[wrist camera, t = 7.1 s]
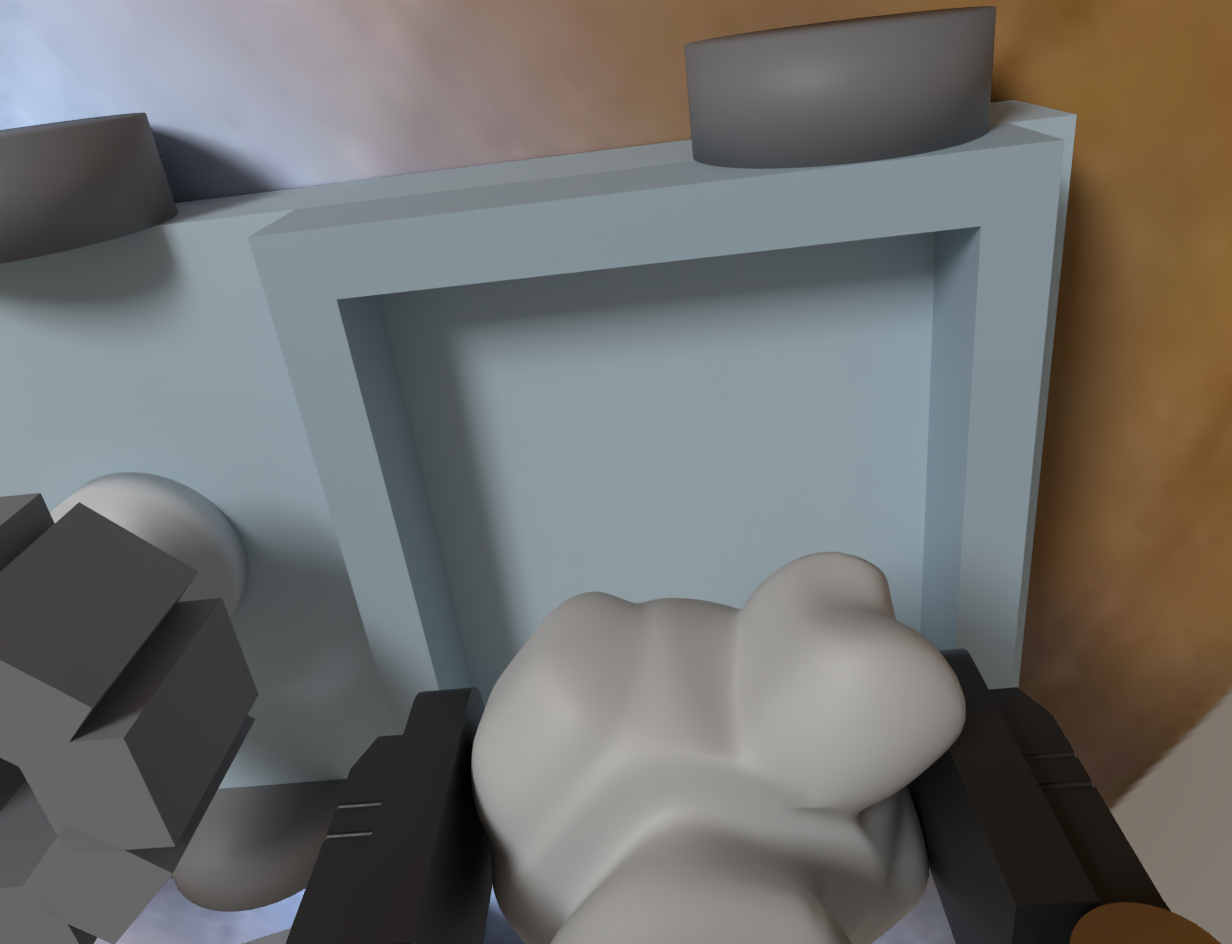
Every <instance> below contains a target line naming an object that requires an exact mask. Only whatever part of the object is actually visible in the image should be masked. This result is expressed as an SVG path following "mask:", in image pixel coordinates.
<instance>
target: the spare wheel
mask: <svg viewBox="0 0 1232 944" xmlns="http://www.w3.org/2000/svg"><path fill="white" fill-rule="evenodd" d="M197 573H198V571H197V570H195V569H193V568H191V567H190V566H188V565H186V564H185V563H183V562H181V561H179V560H178V559H176V558H174V557H173V556H171V555H169V554H167V553H166V552H164V551H162V550H161V549H159V548H157V547H155V546H154V545H152V544H150V543H149V542H147V541H145V540H143V539H142V538H140V537H138V536H137V535H135V534H133V533H131V532H130V531H128V530H126V529H125V528H123V527H121V526H119V525H118V524H116V523H114V522H112V521H111V520H109V519H107V518H106V517H104V516H102V515H100V514H99V513H97V512H95V511H94V510H92V509H90V508H88V507H87V506H85V505H83V504H82V503H80V502H79V503H78V504H76V505H75V506H74V507H73V508H72V509H71V510H70V511H68V512H67V513H66V514H65V515H64V516H63V517H62V518H61V519H59V520H58V521H57V522H56V523H54V521H53V519H52V517H51V514H50V512H49V510H48V508H47V506H46V504H45V501H44V499H43V497H42V495H41V493H34V494H24V495H14V496H4V497H0V944H94V942H95V940H96V939H97V937H98V938H100V939H103V940H105V941H107V942H109V943H111V944H115V943H116V942H117V941H118V939H119V938H120V937H121V936H122V935H123V933H124V932H125V931H126V930H127V929H128V927H129V926H130V925H131V924H132V922H133V921H134V920H135V919H136V918H137V916H138V915H139V914H140V913H141V912H142V910H143V909H144V908H145V907H146V906H147V904H148V903H149V902H150V901H151V899H152V898H153V897H154V896H155V895H156V893H157V892H158V891H159V890H160V889H161V887H162V886H163V885H164V884H165V882H166V881H167V880H168V879H169V878H170V876H171V875H172V874H173V872H174V870H175V869H176V867H177V865H178V863H179V861H180V859H181V857H182V856H183V854H184V852H185V850H186V848H187V846H188V844H189V842H190V841H191V839H192V837H193V835H194V833H195V831H196V829H197V827H198V826H199V824H200V822H201V820H202V818H203V816H204V814H205V813H206V811H207V809H208V807H209V805H210V803H211V801H212V799H213V798H214V796H215V794H216V792H217V790H218V788H219V786H220V784H221V783H222V781H223V779H224V777H225V775H226V773H227V771H228V770H229V768H230V766H231V764H232V762H233V760H234V758H235V756H236V755H237V753H238V751H239V749H240V747H241V745H242V743H243V741H244V740H245V738H246V736H247V734H248V732H249V730H250V728H251V727H252V725H253V723H254V721H255V719H254V718H252V717H250V716H248V713H249V711H250V709H251V708H252V706H253V704H254V702H255V700H256V699H257V697H258V695H259V694H258V692H257V689H256V686H255V684H254V681H253V678H252V676H251V673H250V671H249V668H248V665H247V663H246V660H245V657H244V655H243V652H242V649H241V647H240V644H239V641H238V639H237V636H236V633H235V631H234V628H233V625H232V623H231V620H230V618H229V615H228V612H227V610H226V607H225V604H224V602H223V599H222V598H214V599H203V600H192V601H181V602H178V601H179V599H180V598H181V596H182V595H183V593H184V592H185V590H186V589H187V587H188V586H189V585H190V583H191V582H192V580H193V579H194V577H195V576H196V574H197Z"/></svg>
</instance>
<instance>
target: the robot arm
mask: <svg viewBox="0 0 1232 944" xmlns="http://www.w3.org/2000/svg"><path fill="white" fill-rule="evenodd" d="M939 651H940V653H941V654H942V655H943V657H944V658H945V659H946V661H947V662H948V664H949V665H950V667H951V668H952V670H953V671H954V673H955V674H956V676H957V678H958V680H959V683H960V686H961V689H962V691H963V695H964V698H965V705H966V719H965V723H964V726H963V729H962V732H961V734H960V735H959V736H958V738H957V739H956V741H955V742H954V743H953V745H952V746H951V747H950V748H949V749H948V750H947V751H946V752H945V753H944V754H943V755H942V756H941V757H940V758H939V759H938V760H936V761H935V762H934V763H933V764H932V765H931V766H930V767H929V768H928V769H926V770H925V771H924V772H923V773H921V774H920V775H919V776H918V777H917V778H915V779H914V780H913V781H912V782H910V783H909V784H908V785H907V788H908V790H909V792H910V795H911V798H912V801H913V804H914V806H915V809H916V812H917V815H918V818H919V821H920V825H921V828H922V832H923V836H924V840H925V844H926V849H927V854H928V860H929V867H930V870H931V873H932V876H933V879H934V882H935V885H936V887H937V890H938V893H939V896H940V899H941V902H942V905H943V908H944V910H945V913H946V916H947V919H948V922H949V925H950V928H951V931H952V933H953V936H954V939H955V942H956V944H1221V943H1219V942H1218V941H1217V940H1216V939H1215V938H1214V937H1212V936H1211V935H1210V934H1209V933H1208V932H1206V931H1205V930H1203V929H1202V928H1201V927H1199V926H1197V925H1196V924H1195V923H1193V922H1191V921H1189V920H1187V919H1185V918H1184V917H1182V916H1180V915H1177V914H1175V913H1172V912H1171V911H1170V909H1169V908H1168V906H1167V905H1166V903H1165V902H1164V901H1163V899H1162V897H1161V896H1160V894H1159V892H1158V891H1157V889H1156V888H1155V886H1154V884H1153V882H1152V881H1151V879H1150V877H1149V876H1148V874H1147V872H1146V871H1145V869H1144V867H1143V866H1142V864H1141V862H1140V861H1139V859H1138V857H1137V856H1136V854H1135V852H1134V851H1133V849H1132V847H1131V846H1130V844H1129V842H1128V841H1127V839H1126V837H1125V836H1124V834H1123V832H1122V831H1121V829H1120V827H1119V826H1118V824H1117V822H1116V821H1115V819H1114V817H1113V816H1112V814H1111V812H1110V811H1109V809H1108V807H1107V806H1106V804H1105V802H1104V801H1103V799H1102V797H1101V795H1100V794H1099V792H1098V790H1097V789H1096V787H1092V784H1091V779H1090V777H1089V775H1088V774H1087V772H1086V770H1085V769H1084V767H1083V765H1082V764H1081V762H1080V760H1079V759H1078V758H1075V756H1074V750H1073V749H1072V747H1071V745H1070V744H1069V742H1068V740H1067V739H1066V737H1065V735H1064V734H1063V732H1062V730H1061V729H1060V727H1059V725H1058V724H1057V722H1056V720H1055V719H1054V717H1053V715H1051V714H1050V713H1049V712H1048V711H1046V710H1045V709H1044V708H1043V707H1041V706H1040V705H1039V704H1038V703H1036V702H1035V701H1034V700H1032V699H1031V698H1030V697H1029V696H1027V695H1026V694H1025V693H1024V692H1022V691H1021V690H1020V689H1019V688H1017V687H1013V688H1000V689H988V687H987V685H986V683H985V682H984V680H983V678H982V676H981V674H980V672H979V670H978V668H977V666H976V664H975V663H974V661H973V659H972V657H971V655H970V654H969V652H968V651H967V650H966V649H964V648H959V649H947V650H939ZM484 710H485V708H484V703H483V699H482V696H481V693H480V691H479V689H478V688H476V687H471V688H459V689H447V690H435V691H423V692H419V693H418V694H417V695H416V697H415V699H414V702H413V705H412V708H411V711H410V714H409V717H408V721H407V724H406V727H405V730H404V733H403V735H391V736H379V737H377V739H376V740H375V741H374V742H373V743H372V744H371V746H370V747H369V748H368V749H367V750H366V751H365V752H364V754H363V755H362V756H361V757H360V758H359V759H358V761H357V762H356V763H355V764H354V765H353V766H352V768H351V769H350V772H349V774H348V777H347V780H346V783H345V785H344V788H343V791H342V793H341V796H340V799H339V801H338V810H337V811H335V812H334V815H333V817H332V820H331V823H330V825H329V828H328V831H327V840H326V841H324V842H323V844H322V847H321V850H320V852H319V855H318V858H317V860H316V863H315V866H314V868H313V871H312V874H311V876H310V879H309V882H308V885H307V887H306V890H305V893H304V895H303V898H302V901H301V903H300V906H299V909H298V911H297V914H296V917H295V919H294V922H293V925H292V927H291V930H290V933H289V936H288V938H287V941H286V944H483V940H484V934H485V928H486V921H487V915H488V909H489V903H490V896H491V890H492V884H493V882H492V870H491V842H490V840H489V838H488V836H487V834H486V831H485V829H484V827H483V825H482V823H481V821H480V818H479V816H478V813H477V810H476V807H475V804H474V798H473V792H472V782H471V756H472V749H473V742H474V738H475V735H476V732H477V729H478V726H479V723H480V720H481V718H482V715H483V712H484Z"/></svg>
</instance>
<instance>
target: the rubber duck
mask: <svg viewBox="0 0 1232 944" xmlns="http://www.w3.org/2000/svg"><path fill="white" fill-rule="evenodd" d="M965 719H966V705H965V698H964V695H963V691H962V689H961V686H960V683H959V680H958V678H957V676H956V674H955V673H954V671H953V670H952V668H951V667H950V665H949V664H948V662H947V661H946V659H945V658H944V657H943V655H942V654H941V653H940V651H939V650H938V649H937V648H936V647H935V646H933V645H932V644H931V643H930V642H929V641H928V640H927V639H926V638H924V637H923V636H922V635H921V634H919V633H918V632H917V631H915V630H914V629H912V628H910V627H908V626H907V625H905V624H903V623H900V622H898V621H896V617H895V613H894V608H893V604H892V599H891V594H890V589H889V585H888V581H887V579H886V577H885V574H884V573H883V572H882V571H881V570H880V569H879V568H878V567H876V566H875V565H874V564H872V563H870V562H868V561H867V560H865V559H862V558H860V557H857V556H855V555H850V554H845V553H840V552H821V553H814V554H810V555H806V556H802V557H800V558H798V559H796V560H794V561H791V562H789V563H788V564H786V565H785V566H783V567H782V568H780V569H779V570H777V571H776V572H774V573H773V574H771V575H770V576H769V577H768V578H767V579H766V580H764V581H763V582H762V583H761V584H760V585H759V586H758V587H757V589H756V590H755V591H754V592H753V593H752V595H751V596H750V597H749V599H748V600H747V602H746V604H745V605H744V607H743V608H742V609H737V608H734V607H731V606H727V605H723V604H719V603H715V602H710V601H704V600H697V599H688V598H662V599H655V600H651V601H646V602H643V603H633V602H629V601H627V600H624V599H621V598H619V597H616V596H613V595H610V594H607V593H603V592H597V591H595V592H585V593H582V594H579V595H576V596H574V597H571V598H569V599H568V600H566V601H564V602H563V603H561V604H560V605H559V606H557V607H556V608H555V609H554V610H553V611H552V612H551V613H549V614H548V615H547V617H546V618H545V619H544V620H543V621H542V623H541V624H540V625H539V626H538V628H537V629H536V630H535V632H534V633H533V634H532V635H531V637H530V638H529V639H528V641H527V642H526V643H525V644H524V646H523V647H522V648H521V650H520V651H519V652H518V654H517V655H516V656H515V657H514V659H513V660H512V661H511V663H510V664H509V665H508V666H507V668H506V669H505V670H504V672H503V673H502V675H501V676H500V677H499V679H498V680H497V682H496V684H495V686H494V688H493V690H492V692H491V694H490V696H489V699H488V701H487V704H486V707H485V710H484V712H483V715H482V718H481V720H480V723H479V726H478V729H477V732H476V735H475V738H474V742H473V749H472V756H471V782H472V792H473V798H474V804H475V807H476V810H477V813H478V816H479V818H480V821H481V823H482V825H483V827H484V829H485V831H486V834H487V836H488V838H489V840H490V842H491V870H492V882H493V889H494V893H495V896H496V899H497V902H498V905H499V907H500V909H501V911H502V913H503V915H504V916H505V918H506V920H507V922H508V923H509V924H510V926H511V927H512V928H513V930H514V931H515V932H516V934H517V935H518V936H519V937H520V938H521V939H522V940H523V942H524V943H525V944H872V943H873V942H874V941H875V940H877V939H878V938H879V937H880V936H881V935H883V934H884V933H885V932H886V931H887V930H889V929H890V928H891V927H892V926H893V925H894V924H896V923H897V922H898V921H899V920H900V919H901V918H902V917H904V916H905V915H906V914H907V913H908V912H909V911H910V910H911V909H912V908H913V907H914V906H915V905H916V904H917V903H918V901H919V900H920V898H921V896H922V894H923V892H924V891H925V888H926V885H927V881H928V877H929V860H928V854H927V849H926V844H925V840H924V836H923V832H922V828H921V825H920V821H919V818H918V815H917V812H916V809H915V806H914V804H913V801H912V798H911V795H910V792H909V790H908V788H907V785H908V784H909V783H910V782H912V781H913V780H914V779H915V778H917V777H918V776H919V775H920V774H921V773H923V772H924V771H925V770H926V769H928V768H929V767H930V766H931V765H932V764H933V763H934V762H935V761H936V760H938V759H939V758H940V757H941V756H942V755H943V754H944V753H945V752H946V751H947V750H948V749H949V748H950V747H951V746H952V745H953V743H954V742H955V741H956V739H957V738H958V736H959V735H960V734H961V732H962V729H963V726H964V723H965Z"/></svg>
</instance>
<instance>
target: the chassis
mask: <svg viewBox="0 0 1232 944" xmlns="http://www.w3.org/2000/svg"><path fill="white" fill-rule="evenodd" d="M995 20H996V7H994V6H983V7H965V8H952V9H940V10H929V11H919V12H909V13H900V14H891V15H882V16H873V17H864V18H855V19H847V20H839V21H831V22H823V23H815V24H807V25H800V26H792V27H785V28H778V29H771V30H764V31H757V32H750V33H743V34H737V35H731V36H724V37H718V38H713V39H707V40H702V41H697V42H693V43H689V44H686V45H684V47H685V60H686V73H687V86H688V99H689V112H690V125H691V138H692V140H684V141H676V142H668V143H659V144H651V145H643V146H635V147H627V148H619V149H611V150H602V151H594V152H586V153H578V154H570V155H562V156H554V157H545V158H537V159H529V160H521V161H513V162H505V163H497V164H488V165H480V166H472V167H464V168H456V169H448V170H439V171H431V172H423V173H415V174H407V175H399V176H391V177H382V178H374V179H366V180H358V181H350V182H342V183H334V184H325V185H317V186H309V187H301V188H293V189H285V190H277V191H268V192H260V193H252V194H244V195H236V196H228V197H220V198H211V199H203V200H195V201H187V202H179V203H175V201H174V198H173V195H172V192H171V189H170V186H169V183H168V180H167V177H166V174H165V171H164V168H163V164H162V161H161V158H160V155H159V152H158V149H157V146H156V143H155V140H154V137H153V134H152V131H151V128H150V125H149V122H148V119H147V116H146V113H131V114H121V115H112V116H103V117H95V118H86V119H79V120H71V121H63V122H56V123H48V124H41V125H34V126H27V127H20V128H13V129H6V130H0V497H4V496H14V495H24V494H34V493H41V495H42V497H43V499H44V501H45V504H46V506H47V508H48V510H49V512H50V514H51V517H52V519H53V521H54V523H56V522H57V521H58V520H59V519H61V518H62V517H63V516H64V515H65V514H66V513H67V512H68V511H70V510H71V509H72V508H73V507H74V506H75V505H76V504H78V503H79V502H80V503H82V504H83V505H85V506H87V507H88V508H90V509H92V510H94V511H95V512H97V513H99V514H100V515H102V516H104V517H106V518H107V519H109V520H111V521H112V522H114V523H116V524H118V525H119V526H121V527H123V528H125V529H126V530H128V531H130V532H131V533H133V534H135V535H137V536H138V537H140V538H142V539H143V540H145V541H147V542H149V543H150V544H152V545H154V546H155V547H157V548H159V549H161V550H162V551H164V552H166V553H167V554H169V555H171V556H173V557H174V558H176V559H178V560H179V561H181V562H183V563H185V564H186V565H188V566H190V567H191V568H193V569H195V570H197V571H198V573H197V574H196V576H195V577H194V579H193V580H192V582H191V583H190V585H189V586H188V587H187V589H186V590H185V592H184V593H183V595H182V596H181V598H180V599H179V601H178V602H181V601H192V600H203V599H214V598H222V599H223V602H224V604H225V607H226V610H227V612H228V615H229V618H230V620H231V623H232V625H233V628H234V631H235V633H236V636H237V639H238V641H239V644H240V647H241V649H242V652H243V655H244V657H245V660H246V663H247V665H248V668H249V671H250V673H251V676H252V678H253V681H254V684H255V686H256V689H257V692H258V694H259V695H258V697H257V699H256V700H255V702H254V704H253V706H252V708H251V709H250V711H249V713H248V716H250V717H252V718H254V719H255V721H254V723H253V725H252V727H251V728H250V730H249V732H248V734H247V736H246V738H245V740H244V741H243V743H242V745H241V747H240V749H239V751H238V753H237V755H236V756H235V758H234V760H233V762H232V764H231V766H230V768H229V770H228V771H227V773H226V775H225V777H224V779H223V781H222V783H221V784H220V786H219V788H218V790H217V792H216V794H215V796H214V798H213V799H212V801H211V803H210V805H209V807H208V809H207V811H206V813H205V814H204V816H203V818H202V820H201V822H200V824H199V826H198V827H197V829H196V831H195V833H194V835H193V837H192V839H191V841H190V842H189V844H188V846H187V848H186V850H185V852H184V854H183V856H182V857H181V859H180V861H179V863H178V865H177V867H176V869H175V870H174V872H173V874H172V877H173V879H174V881H175V883H176V885H177V887H178V889H179V891H180V892H181V893H182V894H183V895H184V897H186V898H187V899H188V900H190V901H191V902H192V903H194V904H196V905H198V906H200V907H203V908H207V909H210V910H216V911H243V910H251V909H255V908H259V907H264V906H267V905H270V904H273V903H276V902H279V901H281V900H283V899H286V898H288V897H290V896H292V895H294V894H296V893H298V892H300V891H302V890H303V889H305V888H306V887H307V885H308V882H309V879H310V876H311V874H312V871H313V868H314V866H315V863H316V860H317V858H318V855H319V852H320V850H321V847H322V844H323V842H324V841H326V840H327V831H328V828H329V825H330V823H331V820H332V817H333V815H334V812H335V811H337V810H338V801H339V799H340V796H341V793H342V791H343V788H344V785H345V783H346V780H347V777H348V774H349V772H350V769H351V768H352V766H353V765H354V764H355V763H356V762H357V761H358V759H359V758H360V757H361V756H362V755H363V754H364V752H365V751H366V750H367V749H368V748H369V747H370V746H371V744H372V743H373V742H374V741H375V740H376V739H377V737H379V736H391V735H403V733H404V730H405V727H406V724H407V721H408V717H409V714H410V711H411V708H412V705H413V702H414V699H415V697H416V695H417V694H418V693H419V692H423V691H435V690H447V689H459V688H471V687H476V688H478V689H479V691H480V693H481V696H482V699H483V703H484V708H485V707H486V704H487V701H488V699H489V696H490V694H491V692H492V690H493V688H494V686H495V684H496V682H497V680H498V679H499V677H500V676H501V675H502V673H503V672H504V670H505V669H506V668H507V666H508V665H509V664H510V663H511V661H512V660H513V659H514V657H515V656H516V655H517V654H518V652H519V651H520V650H521V648H522V647H523V646H524V644H525V643H526V642H527V641H528V639H529V638H530V637H531V635H532V634H533V633H534V632H535V630H536V629H537V628H538V626H539V625H540V624H541V623H542V621H543V620H544V619H545V618H546V617H547V615H548V614H549V613H551V612H552V611H553V610H554V609H555V608H556V607H557V606H559V605H560V604H561V603H563V602H564V601H566V600H568V599H569V598H571V597H574V596H576V595H579V594H582V593H585V592H595V591H597V592H603V593H607V594H610V595H613V596H616V597H619V598H621V599H624V600H627V601H629V602H633V603H643V602H646V601H651V600H655V599H662V598H688V599H697V600H704V601H710V602H715V603H719V604H723V605H727V606H731V607H734V608H737V609H742V608H743V607H744V605H745V604H746V602H747V600H748V599H749V597H750V596H751V595H752V593H753V592H754V591H755V590H756V589H757V587H758V586H759V585H760V584H761V583H762V582H763V581H764V580H766V579H767V578H768V577H769V576H770V575H771V574H773V573H774V572H776V571H777V570H779V569H780V568H782V567H783V566H785V565H786V564H788V563H789V562H791V561H794V560H796V559H798V558H800V557H802V556H806V555H810V554H814V553H821V552H840V553H845V554H850V555H855V556H857V557H860V558H862V559H865V560H867V561H868V562H870V563H872V564H874V565H875V566H876V567H878V568H879V569H880V570H881V571H882V572H883V573H884V574H885V577H886V579H887V581H888V585H889V589H890V594H891V599H892V604H893V608H894V613H895V617H896V621H898V622H900V623H903V624H905V625H907V626H908V627H910V628H912V629H914V630H915V631H917V632H918V633H919V634H921V635H922V636H923V637H924V638H926V639H927V640H928V641H929V642H930V643H931V644H932V645H933V646H935V647H936V648H937V649H938V650H947V649H959V648H964V649H966V650H967V651H968V652H969V654H970V655H971V657H972V659H973V661H974V663H975V664H976V666H977V668H978V670H979V672H980V674H981V676H982V678H983V680H984V682H985V683H986V685H987V687H988V689H1000V688H1013V687H1017V688H1018V686H1019V676H1020V666H1021V656H1022V647H1023V637H1024V627H1025V617H1026V607H1027V598H1028V588H1029V578H1030V568H1031V558H1032V548H1033V539H1034V529H1035V519H1036V509H1037V499H1038V490H1039V480H1040V470H1041V460H1042V450H1043V440H1044V431H1045V421H1046V411H1047V401H1048V391H1049V382H1050V372H1051V362H1052V352H1053V342H1054V332H1055V323H1056V313H1057V303H1058V293H1059V283H1060V274H1061V264H1062V254H1063V244H1064V234H1065V224H1066V215H1067V205H1068V195H1069V185H1070V175H1071V166H1072V156H1073V146H1074V136H1075V126H1076V116H1077V115H1076V114H1072V113H1068V112H1063V111H1059V110H1055V109H1051V108H1046V107H1042V106H1038V105H1034V104H1029V103H1025V102H1021V101H1016V100H1010V101H1002V102H993V103H990V101H991V85H992V69H993V52H994V36H995Z"/></svg>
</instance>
